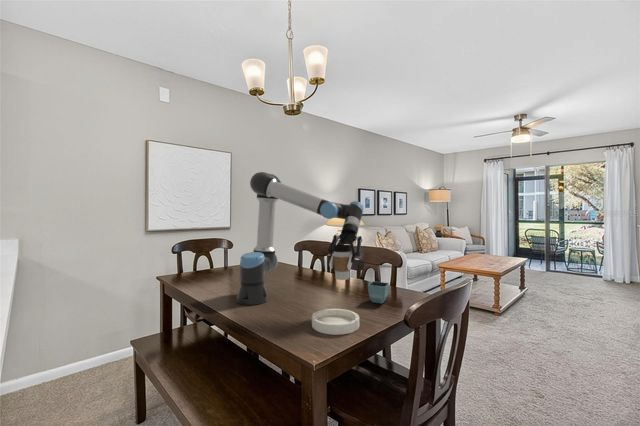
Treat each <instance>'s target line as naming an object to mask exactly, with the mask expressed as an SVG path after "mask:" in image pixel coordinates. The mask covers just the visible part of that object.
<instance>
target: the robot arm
mask: <svg viewBox="0 0 640 426" xmlns="http://www.w3.org/2000/svg"><path fill="white" fill-rule="evenodd" d="M249 185H250V188H251V191H253V193H255V194H256V200H258V202H259V203H258V217H257V237H256V238H257V239H256V246H255V247H254V248H253V251H252V252H247V253H243V254H242V255H241V257H240V262H239V265H240V266H239V269H240V270H239V271H240V273H239V275H240V277H239V278H240V279H239V280H240V286H239V289H238V293H237V295H236V304H237V303H238V304H239V305H243V306H253V305H254V306H255V305H261V304H264V303H266V302H268V300H269V294H268V293H267V292H268V291H267V288H266V285H265V275H267V274H269V273H271V272H273V271H274V270H276V269H275V268H277V266H278V261H279V260H278V257H277V256H278V255H276V248H275V247H274V231H275V215H276V214H275V212H276V203H277V202H278V201H279V200H281V201H283V202H286V203H289V204H291V205H294V206H296V207H299V208H302V209H304V210H306V211H309V212H312V213H315V214H317V215H320V216H322V217H323V218H325V219H327V220H328V219H329V220H331V219H334V218H335V219H340V220H344V222H343V226H342V228H341V231H340V232H341V233H340V234H339V235H336V234H335V235H333V236H332V237H333V238H332V241H331V243H330V244H329V247H328V249H327V252H328V255H329V258H328V259H329V268H330V269H333V267H334V257H333V256H334V251H333V246H334V245H351V249H352V250H351V253H350V258H349V261H348V265H347V267H348V270H349V271H351V269H352V265H353V263H355V261H356V257H360V256H361V250H362V249H361V248H362V246H361V245H362V242H363V238H362V235H359V236H358V232H359V228H360V225H361V220H362V217H363V213H364V206H363V204H362V203H361V202H359V201H357V200H354V201H350V203H349V204H345V203H344V204H343V203H338V202H333V201H329V200H326V199H324V198H321V197H318V196H316V195H313V194H310V193H309V192H305V191H303V190H300V189H297V188H294V187H292V186H289V185H287V184H284V183H282V180H281V179H280V178H279V177H278V176H277V175H275V174H272V173H267V172H265V171H259V172H256V173H254V174H253V175H252V176H251V179H250V182H249ZM355 241H357V242H356V250H355V246H354V242H355Z"/></svg>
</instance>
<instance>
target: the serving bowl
mask: <svg viewBox="0 0 640 426" xmlns="http://www.w3.org/2000/svg"><path fill="white" fill-rule="evenodd" d="M360 319H361V318H360V316H359V314H358V313H356V312H354V311H352V310H349V309H343V308H325V309H321V310H318V311H315V312H314V313H313V314H311V327H312V329H314V330H315V331H316V332H319V333H322V334H324V335H325V334H326V335H332V336H333V335H336V336H338V335H347V334H352V333H354V332H356V331H358V330H359V328H360Z"/></svg>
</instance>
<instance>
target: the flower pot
mask: <svg viewBox="0 0 640 426" xmlns="http://www.w3.org/2000/svg"><path fill="white" fill-rule="evenodd" d="M389 289H390V283H389V282H382V281H371V282H369V283H368V284H367V291H368V296H369V297H368V298H369V299H370V300H371V303H374V304H375V303H376V304H380V305H381V304H383V303H385V301H386V300H387V298H388V294H389Z"/></svg>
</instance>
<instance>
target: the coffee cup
mask: <svg viewBox="0 0 640 426" xmlns="http://www.w3.org/2000/svg"><path fill="white" fill-rule="evenodd" d="M333 251H334V256H333V257H334V264H333V267H334V274H335V277H334V278H335V280H338V281H346V280H349V278H350V270H348V267H347V265H348V261H349V258H350V254H352V249H351V245H350V244H344V245H337V244H336V245H334V246H333Z"/></svg>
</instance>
